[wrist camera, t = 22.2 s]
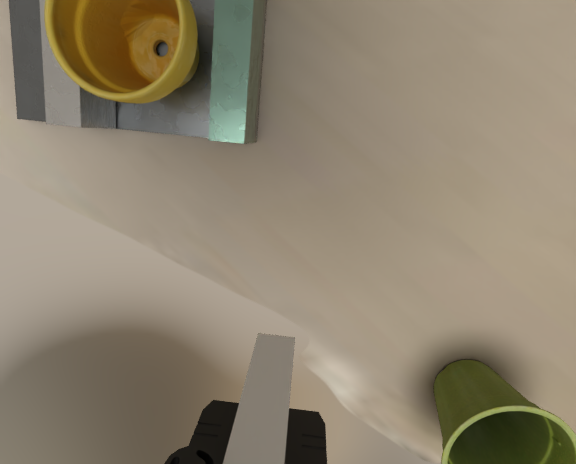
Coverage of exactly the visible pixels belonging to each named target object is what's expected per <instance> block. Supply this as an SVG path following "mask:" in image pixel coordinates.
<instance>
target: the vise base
mask: <svg viewBox="0 0 576 464" xmlns="http://www.w3.org/2000/svg"><path fill="white" fill-rule="evenodd" d="M189 1H190V3H191V5H192V8H193V11H194V14H195V18H196V23H197V33H198V39H197V42H198V46H199V63H198V67H197V70H196V72H195V73H194V75H193V77H192V78H191V79H190V80H189V81H188V82H187V83H186V84H185V85H183V86H182V87H179V88H177V89H175V90H174V91H173V92H171V93H170V94H168V95H167V96H165V97H163V98H161V99H159V100H156V101H153V102H149V103H138V104H137V103H125V102H118V101H116V129H125V130H135V131H145V132H155V133H165V134H175V135H185V136H195V137H205V138H209V140H212V141H222V142H232V143H242V144H246V143H254V142H257V128H258V115H259V101H260V88H261V74H262V61H263V48H264V34H265V21H266V7H267V0H189ZM9 9H10V23H11V37H12V50H13V64H14V78H15V92H16V106H17V119H25V120H35V121H45V122H46V112H45V94H44V76H43V58H42V40H41V21H40V3H39V0H9ZM156 52H157V54H158V55H159V56H164V55H166V54H167V52H168V46H167V44H166V43H165V42H160V43H159V44H158V45H157V47H156Z"/></svg>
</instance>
